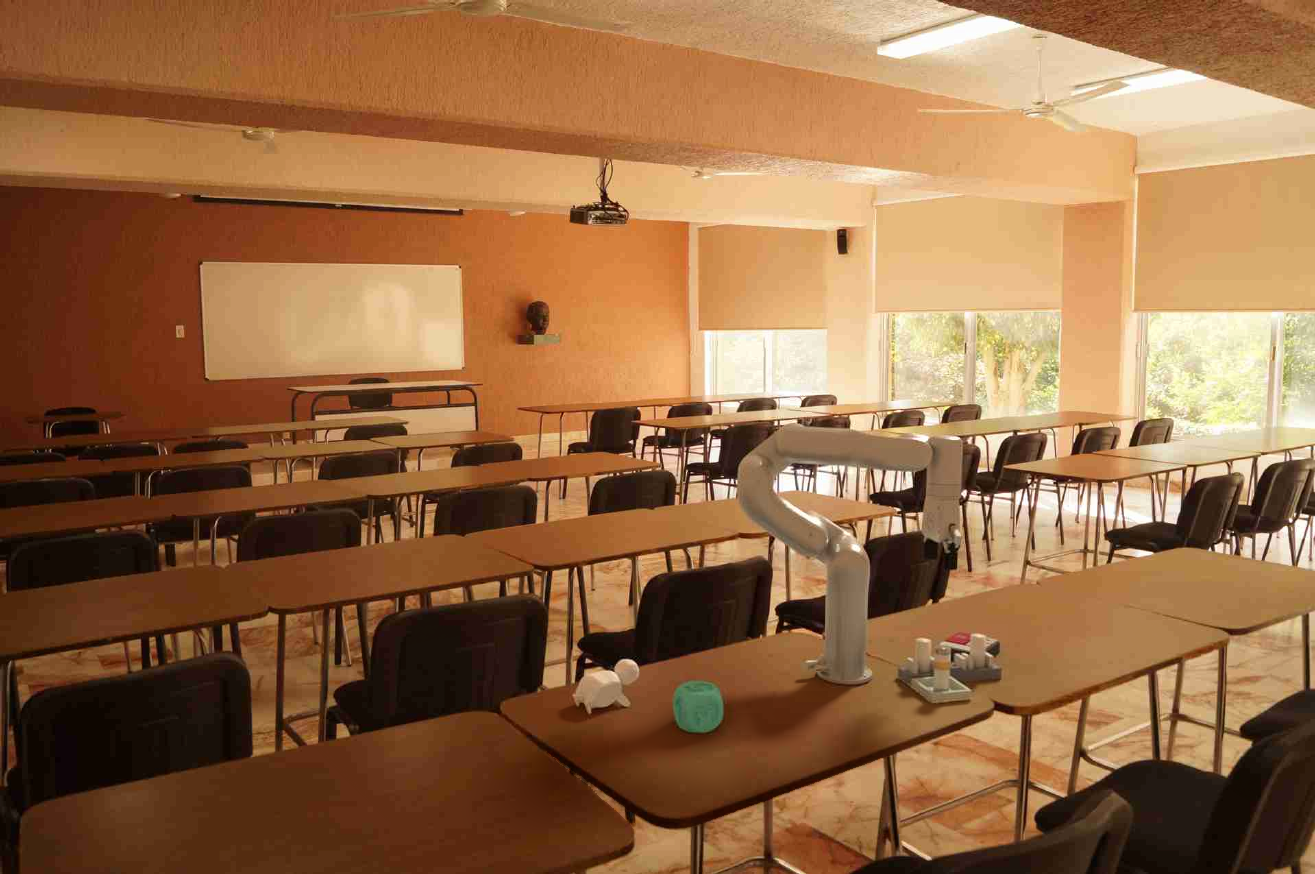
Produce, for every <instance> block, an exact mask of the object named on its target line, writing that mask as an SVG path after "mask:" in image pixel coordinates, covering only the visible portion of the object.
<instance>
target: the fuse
mask: <svg viewBox="0 0 1315 874" xmlns="http://www.w3.org/2000/svg"><path fill="white" fill-rule="evenodd" d="M950 657H951V648H950V647H949V646H945V645H938V644H937V646H936V645H935V646H934V655H933V658H934V684H933V691H934V692H946V691H949V685H950Z"/></svg>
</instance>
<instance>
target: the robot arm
mask: <svg viewBox="0 0 1315 874" xmlns="http://www.w3.org/2000/svg"><path fill="white" fill-rule="evenodd" d="M963 453H964V442H963V440H962V438H960V436H959V437H958V436H955V435H945V434H944V435H943V434H941V435H940V434H939V435H927V434H925V435H924V434H918V433H912V432H907V433H902V434H900V435H898V436H897V437H896V436H895V437H894V436H885V435H884V436H882V435H875V434H871V433H866V432H863V431H859V430H856V429H852V428H846V427H845V428H844V427H843V428H841V427H837V428H836V427H822V426H821V427H820V426H819V427H816V426H805V425H803V424H801V423H798V422H797V423H796V422H790V423H786V424H784V425H783V426H781V427H780V428H778V429H777V430H776V431H775V432H774V433H773V434H771V435H770V436H768V438H766V439H765V440H763V442H761V443H760V444H759V445H758V446H756V447H755V448H754V449H753V450H751V451H750V452H748V453H747V455H745V456H744V457H743V458H742V460H740V463H739V465H738V468H737V480H736V497H737V503H738V505H739V506H740V509H741V511H742V512H743V514H744V516H745V517H747V518H748V520H750V521H751V522H752V523H754V524H755V525H756V526H758V527H759V528H760V529H762V530H763V531H765V532H767V533H768V534H770V536H772V537H774V538H775V539H776V540H778V541H779V542H780V543H783V544H784V545H785V546H787V547H789V549H791V550H793V551H794V552H795V553H796V554H798V555H799V556H802V557H805V558H806V557H807V558H815V560H818V561H819V562H820V563H822V564H824V565H825V566H826V586H825V587H826V589H825V606H824V607H825V609H824V610H825V615H824V616H825V620H824V621H825V622H824V623H825V624H824V625H825V626H824V653H822V654H821V653H820V657H819V658H817V659H816V660H813V659H812V660H811V659H809V660H808V659H807V660H804V662H803V663H804V669H805V670H809V669H810V670H812V669H813V670H814V672H816V673H817V675H818V676H819V678H821V679H822V680H824V681H827V682H829V683H833V684H837V685H838V684H839V685H848V686H849V685H851V686H852V685H862V684H865V682H866V683H867V682H870V681H871V680H872V679H873V671H872V669H871V668H870V667H868V666H867V640H868V639H867V638H868V637H867V636H868V603H869V601H868V600H869V598H868V597H869V596H868V595H869V585H870V577H871V564H870V563H871V562H870V559H869V556H868V554H867V552H866V550H865V548H864V547H863V545H862V542H860V541H859V540H858V539H857V538H856V536H854V535H852V534H851V533H850V532H847V531H846V530H845V529H843V528H841V527H840V526H839V525H837V524H836V523H834V522H832V521H831V520H830V519H827V518H826V517H825V516H823V515H821V514H820V513H818V512H816V511H814V510H811V509H799V508H798V507H796V506H794V505H793V504H792V503H791V502H789V501H787V500H786V499H784V498H782V497H781V496H780V495H778V494H777V493H776V491H775V490H774V482H775V479H776V477H778V475H780V474H782V473H783V472H784V471H785V470H786V469H787V468H788V467H791V465H792V464H803V465H804V464H805V465H821V466H823V465H825V466H826V465H827V466H840V467H851V468H856V469H857V468H858V469H871V470H877V471H879V470H880V471H891V472H907V473H910V472H912V473H913V472H919V471H923V470H925V469H926V487H925V488H926V489H925V499H924V504H923V511H922V512H923V513H922V520H921V521H922V522H921V533H922V535H923V536H924V537H923V539H922V540H923V560H937V559H938V549H939V543H942V544H943V548H944V552H942V553H943V554H942V555H943V557H942V570H944V571H957V569H958V561H959V559H958V558H959V553H960V548H961V543H962V540H963V536H962V535H961V532H960V531H961V530H960V529H961V527H960V526H961V514H960V513H961V512H960V511H961V509H960V499H961V498H962V497H961V495H962V475H963ZM949 544H950V545H949Z"/></svg>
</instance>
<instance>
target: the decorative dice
mask: <svg viewBox="0 0 1315 874" xmlns="http://www.w3.org/2000/svg"><path fill="white" fill-rule="evenodd" d="M672 710H673V716H674V719H675V721H676V724H677V725H678V728H680V729H682V731H685V732H688V733H694V734H704V733H708V732H712V731H714V730H715V729H716V728H717V727H718V726H719V725H720V724H721V723H722V721H723V717H724V702H723V697H722V694H721V692H720V690H719V688H718V687H717V685H715V684H714V683H712V682H709V681H704V680H689V681H686V682H683V683H681V684H680V685H679V686H678V687H677V688H676V690H675V691H674V693H673V697H672Z"/></svg>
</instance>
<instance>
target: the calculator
mask: <svg viewBox="0 0 1315 874" xmlns="http://www.w3.org/2000/svg"><path fill="white" fill-rule="evenodd" d="M971 634H972V633H971ZM971 634H970V633H966V632H962V631H961V632H960V631H959V632H956V633H955V634H952V635H951V636H949V637H947V638H946V639H944V641H941V642H940V643H938V644H937V645H945V646H949V647H950V648H951V657H950V659H951V662H954V654H960V655H961V653H966V654H968V655H969V656H970V637H971ZM937 645H935V646H937ZM1000 649H1001V642H1000V641H998V639H996V638H991V637H987V636H986V648H985V652H987V653H989V654H991V655H992V656H994V657H996V656H997V655H998V654H999V653H1000ZM998 652H999V653H998ZM997 653H998V654H997ZM996 654H997V655H996ZM995 655H996V656H995Z"/></svg>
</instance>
